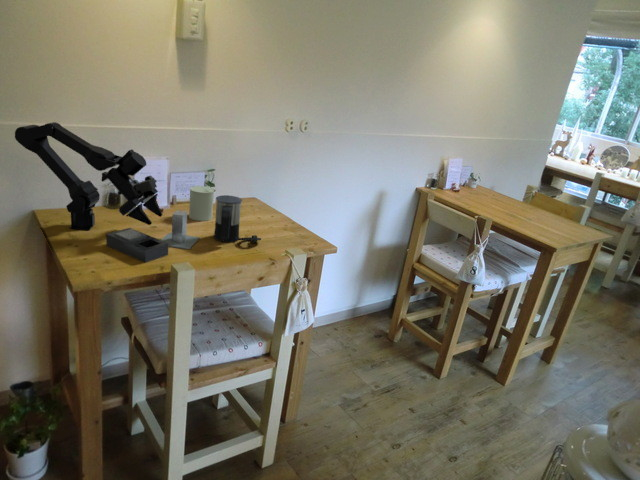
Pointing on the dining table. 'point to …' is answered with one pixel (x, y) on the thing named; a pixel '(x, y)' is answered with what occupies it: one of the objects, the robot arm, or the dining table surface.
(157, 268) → the dining table surface
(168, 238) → the mat
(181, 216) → the grey rectangular block
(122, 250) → the dark grey socket base
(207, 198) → the can
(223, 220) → the milk frother
